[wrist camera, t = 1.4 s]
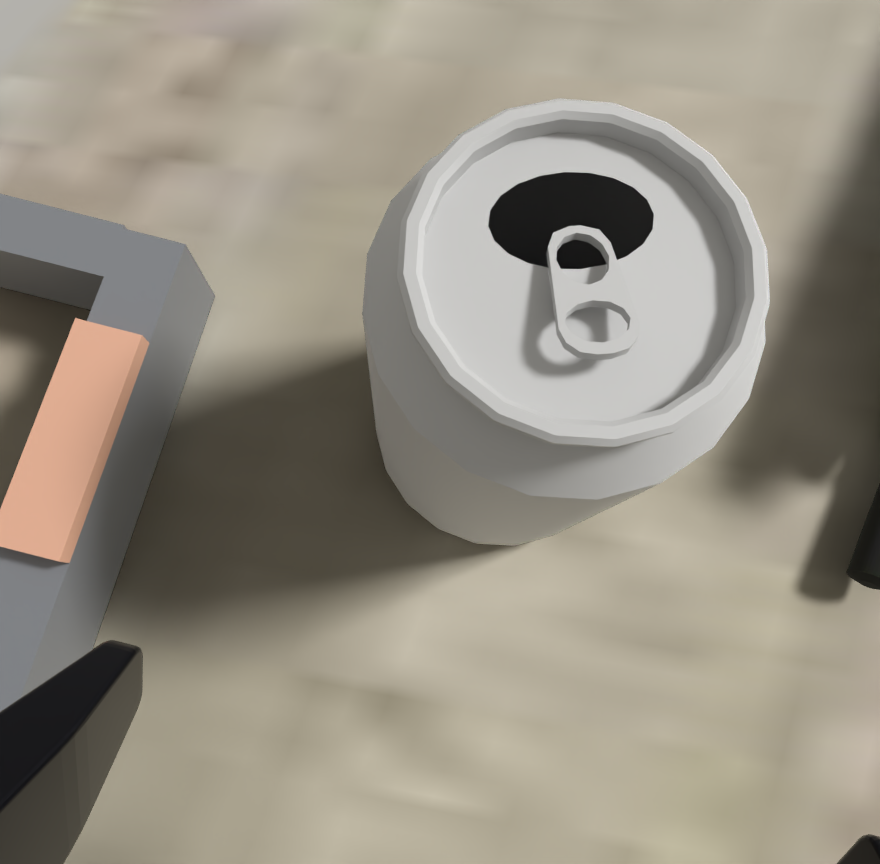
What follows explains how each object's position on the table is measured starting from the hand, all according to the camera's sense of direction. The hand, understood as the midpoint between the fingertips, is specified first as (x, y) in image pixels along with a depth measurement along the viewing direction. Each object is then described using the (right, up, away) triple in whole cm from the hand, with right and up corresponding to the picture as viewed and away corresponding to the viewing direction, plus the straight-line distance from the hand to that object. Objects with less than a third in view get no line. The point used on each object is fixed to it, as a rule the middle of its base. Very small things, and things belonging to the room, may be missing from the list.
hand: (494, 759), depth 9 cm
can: (+1, +4, +15) cm, 15 cm away
